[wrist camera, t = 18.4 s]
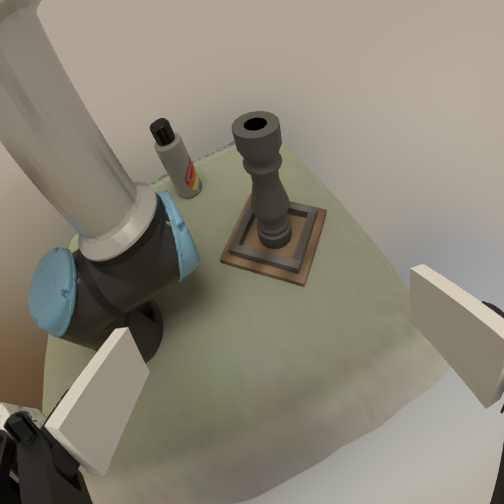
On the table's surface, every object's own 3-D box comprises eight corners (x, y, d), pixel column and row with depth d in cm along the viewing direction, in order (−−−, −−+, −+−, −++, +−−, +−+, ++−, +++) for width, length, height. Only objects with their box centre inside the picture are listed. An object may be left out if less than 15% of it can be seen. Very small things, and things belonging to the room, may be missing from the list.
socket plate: (221, 262, 52) (216, 254, 49) (251, 197, 59) (249, 187, 56) (304, 286, 47) (304, 279, 45) (326, 213, 54) (327, 203, 51)
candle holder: (291, 249, 50) (280, 139, 28) (257, 248, 51) (224, 141, 29) (292, 221, 53) (283, 109, 31) (260, 220, 54) (234, 111, 32)
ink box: (43, 445, 37) (6, 444, 27) (31, 434, 38) (-4, 431, 28) (47, 418, 40) (9, 414, 30) (36, 407, 42) (-1, 401, 31)
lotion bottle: (206, 183, 63) (178, 114, 45) (193, 201, 61) (159, 133, 43) (187, 178, 65) (156, 113, 47) (174, 196, 63) (138, 131, 45)
